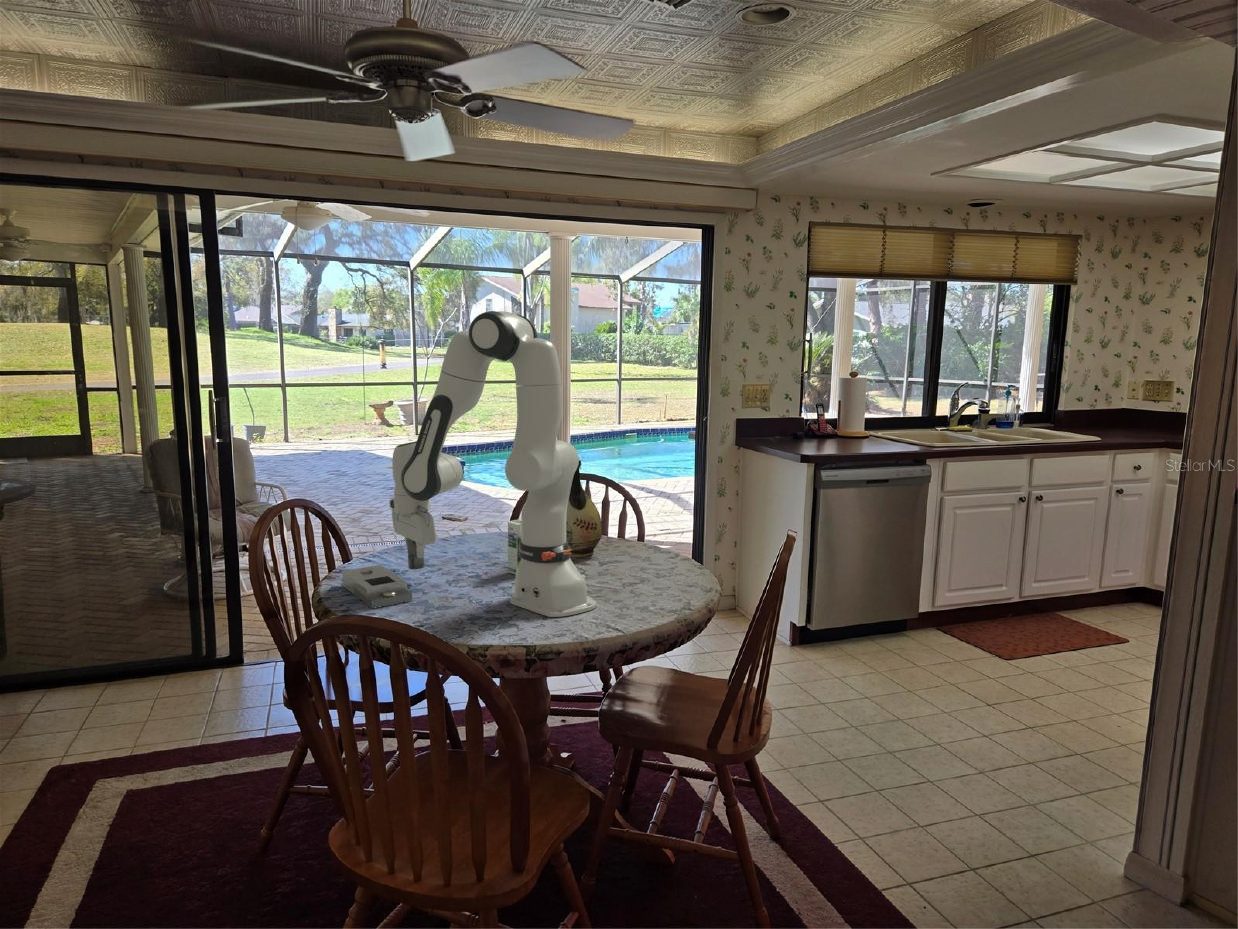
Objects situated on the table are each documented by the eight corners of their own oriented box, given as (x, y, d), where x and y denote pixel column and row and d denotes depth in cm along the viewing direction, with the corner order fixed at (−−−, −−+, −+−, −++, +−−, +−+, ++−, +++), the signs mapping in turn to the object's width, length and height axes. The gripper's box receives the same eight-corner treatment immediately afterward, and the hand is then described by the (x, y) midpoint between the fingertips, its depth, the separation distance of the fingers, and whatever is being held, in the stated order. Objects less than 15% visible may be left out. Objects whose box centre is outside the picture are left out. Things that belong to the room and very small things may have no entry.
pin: (426, 567, 202) (424, 535, 201) (412, 570, 200) (410, 537, 199) (420, 564, 206) (418, 532, 204) (406, 567, 203) (404, 535, 202)
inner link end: (412, 601, 189) (411, 590, 189) (371, 609, 183) (371, 598, 183) (393, 587, 200) (392, 578, 199) (354, 594, 194) (353, 584, 193)
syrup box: (506, 572, 214) (506, 521, 212) (523, 568, 218) (523, 518, 216) (519, 577, 210) (518, 524, 208) (536, 572, 214) (536, 521, 212)
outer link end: (407, 597, 192) (407, 580, 191) (367, 605, 186) (366, 587, 185) (380, 579, 207) (380, 562, 206) (342, 585, 201) (342, 568, 200)
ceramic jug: (551, 548, 241) (550, 452, 236) (600, 547, 242) (600, 452, 238) (551, 563, 224) (551, 460, 220) (604, 561, 226) (605, 460, 221)
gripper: (440, 507, 194) (443, 561, 196) (409, 497, 210) (412, 546, 212) (416, 511, 190) (419, 565, 192) (386, 500, 207) (390, 550, 209)
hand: (415, 555), depth 202 cm, fingers closed on pin, 4 cm apart
